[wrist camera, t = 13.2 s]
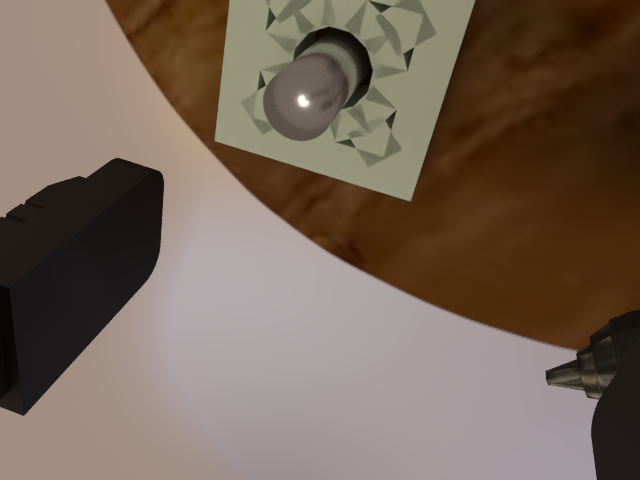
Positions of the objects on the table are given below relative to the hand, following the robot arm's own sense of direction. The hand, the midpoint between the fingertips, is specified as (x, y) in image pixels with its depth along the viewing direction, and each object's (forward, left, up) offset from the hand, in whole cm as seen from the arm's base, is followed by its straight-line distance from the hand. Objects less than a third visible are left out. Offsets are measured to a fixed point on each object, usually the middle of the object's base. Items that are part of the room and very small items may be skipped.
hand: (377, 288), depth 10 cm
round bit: (+7, +6, -33) cm, 34 cm away
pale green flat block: (+7, +6, -33) cm, 34 cm away
